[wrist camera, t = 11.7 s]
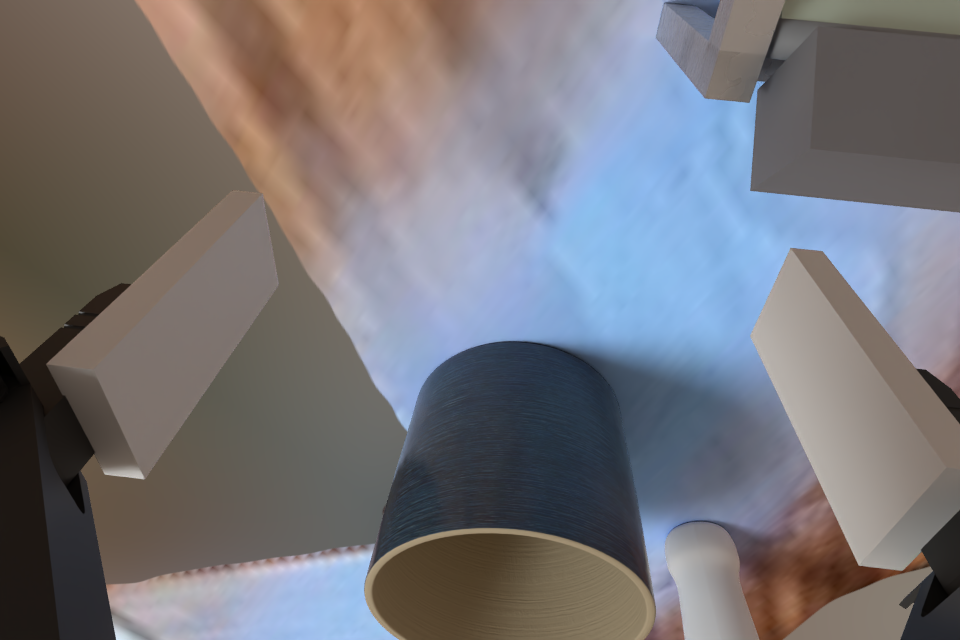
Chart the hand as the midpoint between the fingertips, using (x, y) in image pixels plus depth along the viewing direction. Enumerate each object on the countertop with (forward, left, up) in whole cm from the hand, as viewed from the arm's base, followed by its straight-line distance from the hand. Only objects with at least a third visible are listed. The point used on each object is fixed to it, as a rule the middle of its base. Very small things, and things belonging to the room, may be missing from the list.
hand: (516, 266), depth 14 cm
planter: (+36, +3, -29) cm, 46 cm away
